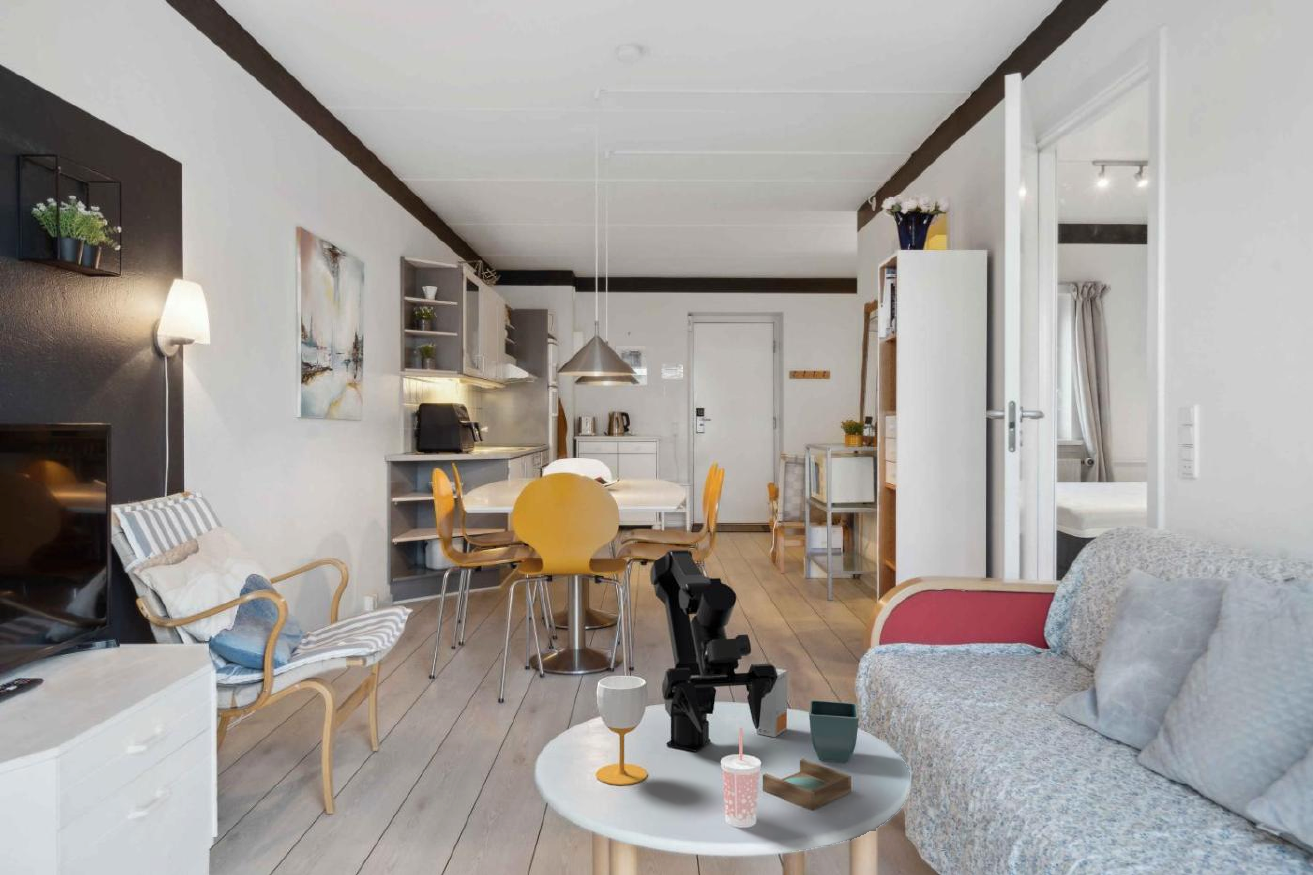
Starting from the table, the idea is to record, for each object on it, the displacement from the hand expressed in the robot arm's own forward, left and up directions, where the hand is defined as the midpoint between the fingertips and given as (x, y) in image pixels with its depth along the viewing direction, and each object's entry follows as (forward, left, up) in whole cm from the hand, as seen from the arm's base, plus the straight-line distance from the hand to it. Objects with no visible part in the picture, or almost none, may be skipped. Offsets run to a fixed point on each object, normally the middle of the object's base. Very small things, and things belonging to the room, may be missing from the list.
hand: (729, 729), depth 129 cm
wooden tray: (+9, +11, -12) cm, 19 cm away
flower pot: (+8, +28, -12) cm, 32 cm away
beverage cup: (+4, -4, -12) cm, 13 cm away
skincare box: (-7, +35, -12) cm, 38 cm away
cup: (-21, +1, -12) cm, 24 cm away
